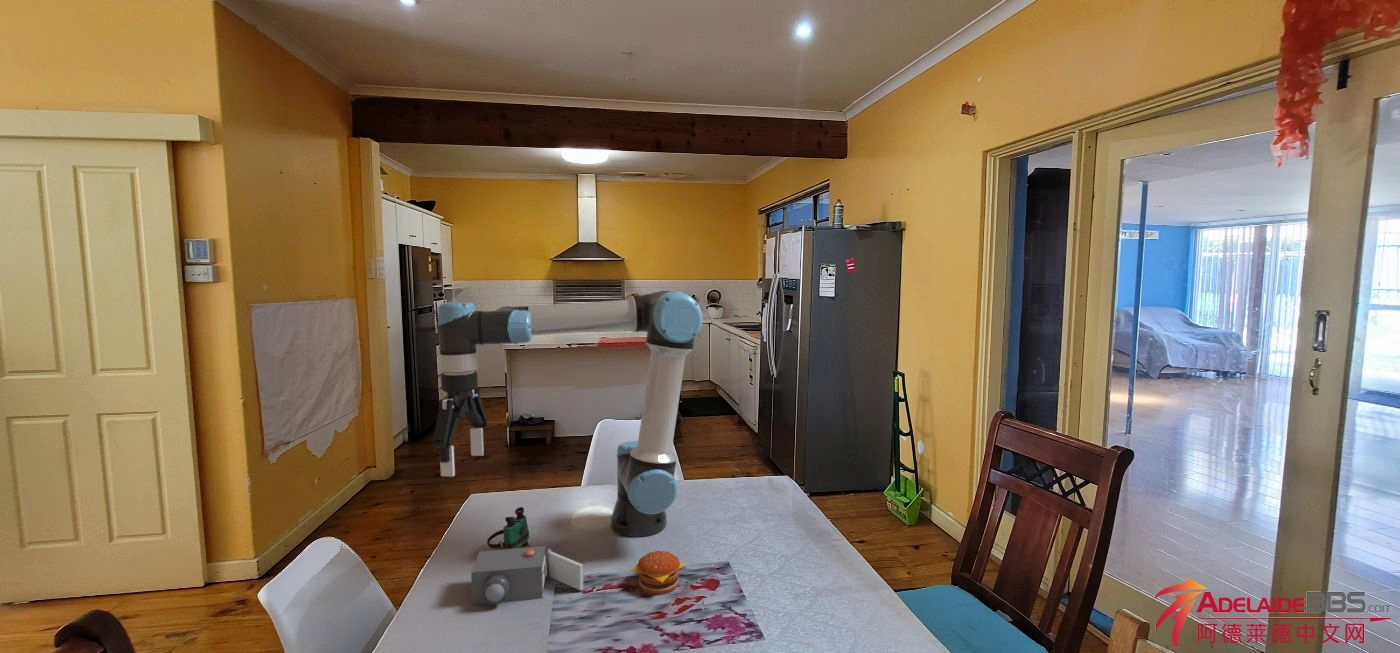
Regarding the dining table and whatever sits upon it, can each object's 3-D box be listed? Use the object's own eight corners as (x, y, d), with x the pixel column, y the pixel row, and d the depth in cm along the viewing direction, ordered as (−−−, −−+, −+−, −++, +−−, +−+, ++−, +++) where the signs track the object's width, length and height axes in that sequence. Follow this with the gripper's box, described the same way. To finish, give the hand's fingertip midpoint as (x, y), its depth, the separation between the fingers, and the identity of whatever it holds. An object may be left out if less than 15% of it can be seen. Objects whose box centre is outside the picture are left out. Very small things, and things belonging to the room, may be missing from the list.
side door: (549, 573, 128) (549, 548, 127) (583, 588, 122) (583, 562, 121) (545, 575, 127) (545, 550, 126) (580, 591, 121) (579, 564, 120)
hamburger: (629, 587, 123) (628, 558, 123) (655, 568, 131) (655, 541, 131) (663, 601, 118) (663, 570, 118) (688, 580, 126) (688, 552, 126)
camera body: (546, 575, 128) (546, 542, 127) (542, 605, 116) (541, 569, 115) (480, 581, 125) (479, 547, 124) (469, 612, 113) (468, 575, 113)
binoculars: (496, 505, 142) (532, 505, 140) (501, 545, 143) (537, 545, 141) (475, 520, 134) (513, 520, 132) (481, 562, 134) (518, 563, 132)
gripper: (469, 362, 137) (473, 447, 139) (410, 382, 112) (415, 485, 114) (499, 363, 136) (502, 447, 138) (446, 383, 112) (451, 486, 114)
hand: (463, 465), depth 126 cm, fingers open, 13 cm apart
